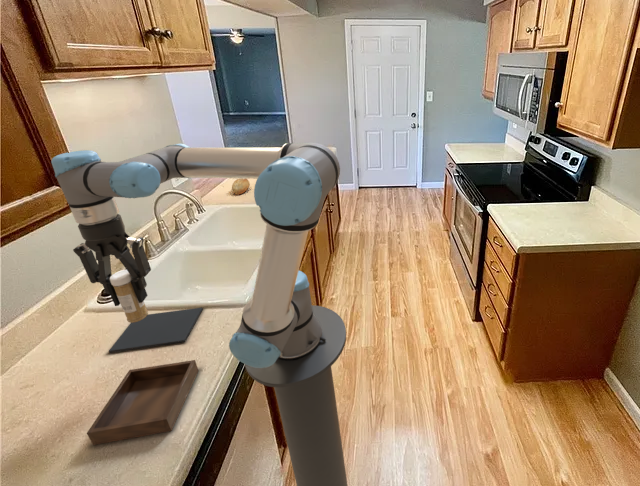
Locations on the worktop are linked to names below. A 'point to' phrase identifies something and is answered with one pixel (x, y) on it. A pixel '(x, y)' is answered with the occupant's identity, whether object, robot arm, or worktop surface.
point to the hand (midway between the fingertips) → (131, 300)
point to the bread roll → (240, 186)
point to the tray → (145, 402)
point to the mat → (158, 330)
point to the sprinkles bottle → (128, 296)
